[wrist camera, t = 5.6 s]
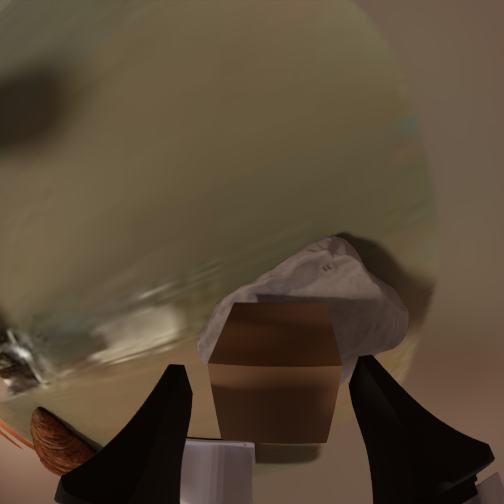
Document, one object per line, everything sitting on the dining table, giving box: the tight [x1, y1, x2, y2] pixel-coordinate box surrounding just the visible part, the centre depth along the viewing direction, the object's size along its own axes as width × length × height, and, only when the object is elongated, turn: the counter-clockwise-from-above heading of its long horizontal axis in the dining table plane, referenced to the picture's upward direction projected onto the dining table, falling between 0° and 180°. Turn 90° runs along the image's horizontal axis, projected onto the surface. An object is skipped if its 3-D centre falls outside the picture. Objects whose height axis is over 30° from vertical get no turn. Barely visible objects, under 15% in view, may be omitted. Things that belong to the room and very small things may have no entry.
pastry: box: [30, 407, 96, 476], centre depth 27 cm, size 17×15×8 cm
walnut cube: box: [207, 302, 343, 444], centre depth 11 cm, size 4×4×5 cm
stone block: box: [197, 236, 409, 386], centre depth 17 cm, size 12×5×10 cm
